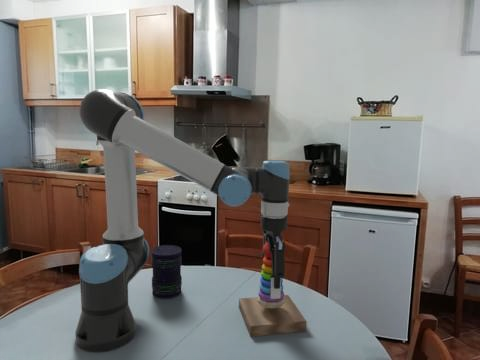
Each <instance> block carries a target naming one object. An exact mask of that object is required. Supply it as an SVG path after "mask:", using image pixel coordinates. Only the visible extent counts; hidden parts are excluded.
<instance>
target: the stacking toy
mask: <svg viewBox="0 0 480 360" xmlns="http://www.w3.org/2000/svg"><path fill="white" fill-rule="evenodd" d="M262 247H263V253H264V255H265V257H264V258H263V260H262V263H263V264H262V266H261V269H262V270H261V272H260V275H261V277H260V279H259V282H260V283H259V285H258V286H259V290H258V293H257V294H258V296H257V297H258V303H259V304H260V305H261V306H263V307H266V308H279V307H281V306H282V305H283V304H284V302H285V299H284V295H285V292H284V284H283V282H284V281H283V278H281V294H280V298H277V299H271V298H270V294H271V278H270V275H272V260H271V252H269V243H268V242H266V243H265V244H264V246H263V245H262ZM272 249H273V248H272Z"/></svg>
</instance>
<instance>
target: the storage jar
mask: <svg viewBox="0 0 480 360" xmlns="http://www.w3.org/2000/svg"><path fill="white" fill-rule="evenodd" d="M182 257H183V256H182V248H181V247H180V246H178V245H173V244H172V245H171V244H166V245H158V246H155V247H153V248H152V249H151V268H152V277H151V288H152V291H151V294H152V296H153V297H154V298H156V299H161V300H170V299H174V298H176V297H178V296H180V295H181V294H182V284H183V281H182V273H181V269H182V263H183V262H182Z"/></svg>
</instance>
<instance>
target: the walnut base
mask: <svg viewBox="0 0 480 360" xmlns="http://www.w3.org/2000/svg"><path fill="white" fill-rule="evenodd" d="M284 299H285V302H284V304H283V305H282V306H281V307H279V308H266V307H263V306H261V305H260V304H259V303H258V296H255V297H254V296H253V297H242V298H241V297H240V298H238V309H239V311H240V314H241V316H242V320H243V322H244V324H245V326H246V329H247V332H248V335H249V336H250V337H258V336H259V337H262V336H269V335H279V334H282V335H283V334H291V333H300V332H301V333H302V332H307V323H308V322H307V319H306V318H305V316H304V315H303V314H302V313H301V311H300V310H299V308H298V307H297V305H296V304H295V303H294V301H293V300H292V298H291V297H290V296H289V294H284Z"/></svg>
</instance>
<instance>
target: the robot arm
mask: <svg viewBox="0 0 480 360" xmlns="http://www.w3.org/2000/svg"><path fill="white" fill-rule="evenodd" d="M79 116H80V120H81V122H82V124H83V125H84V127H85V128H86V129H87V130H89V131H90V132H91V133H92V134H94V135H96V141H97V142H98V143H99V144H100V145H101V146H102V147H103V148H102V149H103V151H102V152H103V167H104V181H105V183H104V186H105V203H106V219H107V220H106V221H107V229H106V231H104V233H103V234H102V244H100V245H97V246H93V247H91V248H89V249H88V250H86V251H84V252H83V253H82V255H81V257H80V260H79V268H78V274H79V284H80V301H81V303H80V305H81V306H80V307H81V313H80V316H79V319H78V322H77V326H76V329H75V334H74V335H75V343H76V345H77V347H79V349H81V350H84V351H87V352H95V353H96V352H108V351H112V350H115V349H118V348H121V347H123V346H124V345H126V344H127V343H128V342H130V341H131V340H132V339H133V338H135V336H136V331H137V330H136V329H137V328H136V327H137V326H136V324H137V323H136V319H135V318H134V315H133V313H132V310H131V307H130V306H129V305H130V304H129V283H130V282H131V281H132V280H133V279H134V278H135V277H136V276H137V275H138V273H140V271H142V270H143V268H144V267H145V266H146V264H147V261H148V259H149V256H150V246H149V244H148V241H147V240H146V239H145V233H144V230H143V229H142V228H141V227H140V226H139V217H138V216H139V215H138V213H139V211H138V190H137V170H136V168H137V167H136V166H137V165H136V162H137V161H136V152H137V153H139V154H141V155H143V156H144V157H147V158H148V159H150V160H152V161H153V162H156V163H158V164H159V165H161V166H163V167H165V168H167V169H168V170H170V171H172V172H174V173H176V174H178V175H180V176H181V177H183V178H185V179H187V180H189V181H191V182H192V183H194V184H196V185H198V186H200V187H202V188H203V189H205V190H207V191H209V192H211V193H213V194H215V195H216V196H218V197H219V199H220V201H222V202H223V203H224V204H225V205H226V206H230V207H239V206H242V205H244V204H245V203H246V202H247V200H248V199H250V197H251V195H261V202H260V203H261V204H260V214H261V216H260V228H261V230H262V232H263V233H262V235H263V237H262V251H261V260H262V261H263V258H264V257H265V255H264V253H263V246H264V244H265V243H266V242H268V243H269V252H271V260H272V275H270V278H271V294H270V298H271V299H277V298H280V294H281V278H282V279H283V278H285V247H286V243H285V241H283V237H282V232H284V231H286V230H287V229H288V217H287V215H288V213H289V212H288V211H289V209H288V208H289V207H290V206H291V205H290V203H289V194H290V179H291V178H290V164H289V163H288V162H287V161H285V160H273V159H272V160H264V161H263V162H262V165H261V167H251V166H250V167H249V166H248V167H247V166H234V165H233V166H232V165H231V166H228V165H226V164H224V163H222V162H221V161H220V160H217V159H215V158H213V157H211V156H210V155H208V154H206V153H205V152H203V151H200V150H198V149H197V148H195V147H193V146H192V145H189V144H188V143H186V142H184V141H182V140H180V139H178V138H177V137H175V136H173V135H171V134H170V133H167V132H166V131H164V130H163V129H160V128H158V127H157V126H155V125H153V124H151V123H149V122H148V121H146V120H145V111H144V109H143V106H142V104H141V103H140V102H139V101H138V99H136V98H135V97H134V96H132V95H130V94H128V93H125V92H119V91H113V90H109V89H104V88H102V89H95V90H92V91H91V92H89V93H87V94H86V95H85V96H84V97H83V98H82V100H81V101H80V105H79ZM272 248H273V249H272Z"/></svg>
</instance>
